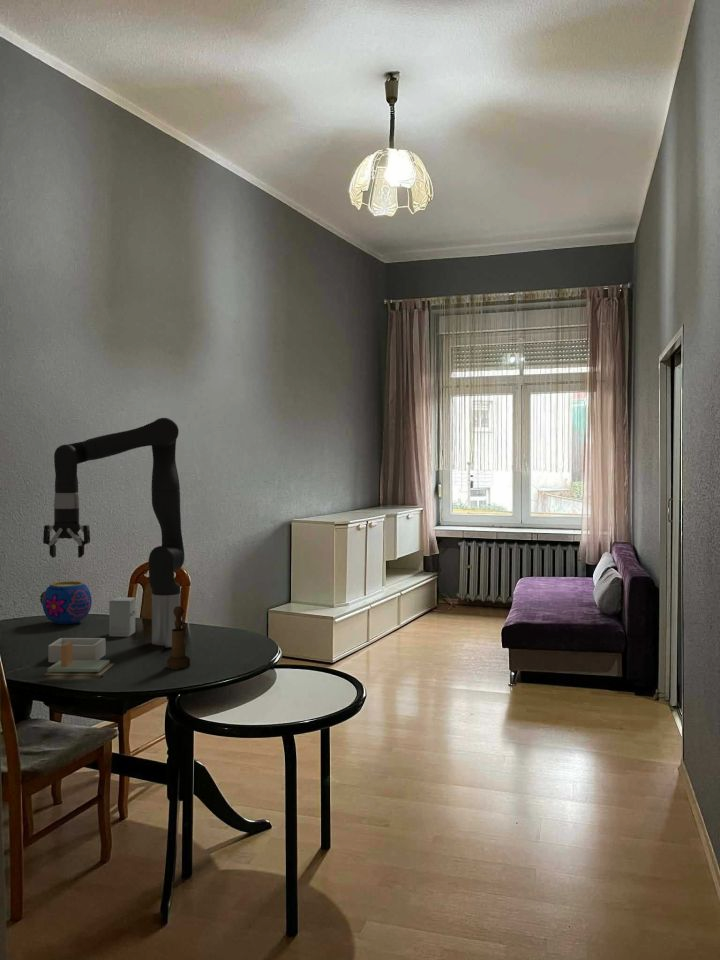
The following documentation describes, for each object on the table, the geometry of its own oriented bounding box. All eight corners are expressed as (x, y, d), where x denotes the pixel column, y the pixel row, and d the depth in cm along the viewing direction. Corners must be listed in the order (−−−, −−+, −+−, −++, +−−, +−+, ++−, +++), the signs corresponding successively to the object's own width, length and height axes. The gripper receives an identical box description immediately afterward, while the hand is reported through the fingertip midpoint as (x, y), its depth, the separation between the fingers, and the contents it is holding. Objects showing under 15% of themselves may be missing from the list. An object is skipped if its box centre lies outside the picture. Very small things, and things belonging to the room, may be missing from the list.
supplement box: (129, 636, 282) (129, 600, 282) (108, 636, 283) (108, 600, 282) (136, 632, 290) (136, 597, 289) (115, 632, 290) (115, 596, 290)
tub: (105, 657, 253) (105, 638, 253) (95, 665, 243) (95, 645, 243) (60, 657, 253) (60, 638, 253) (48, 665, 243) (48, 645, 243)
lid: (109, 664, 240) (109, 639, 240) (98, 673, 230) (98, 647, 230) (60, 664, 240) (60, 639, 240) (47, 673, 230) (47, 647, 230)
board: (114, 666, 242) (114, 663, 242) (100, 678, 229) (100, 675, 229) (60, 666, 242) (60, 663, 242) (43, 678, 229) (43, 675, 229)
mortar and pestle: (167, 670, 238) (167, 609, 238) (166, 664, 245) (166, 605, 244) (190, 668, 240) (190, 608, 240) (189, 663, 247) (188, 604, 246)
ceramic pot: (72, 617, 317) (72, 578, 317) (101, 622, 307) (101, 582, 307) (32, 624, 303) (31, 584, 302) (61, 630, 293) (61, 588, 292)
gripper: (92, 506, 265) (92, 556, 265) (48, 506, 265) (48, 555, 265) (85, 507, 257) (85, 558, 258) (39, 507, 257) (40, 558, 257)
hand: (66, 557), depth 261 cm, fingers open, 8 cm apart
